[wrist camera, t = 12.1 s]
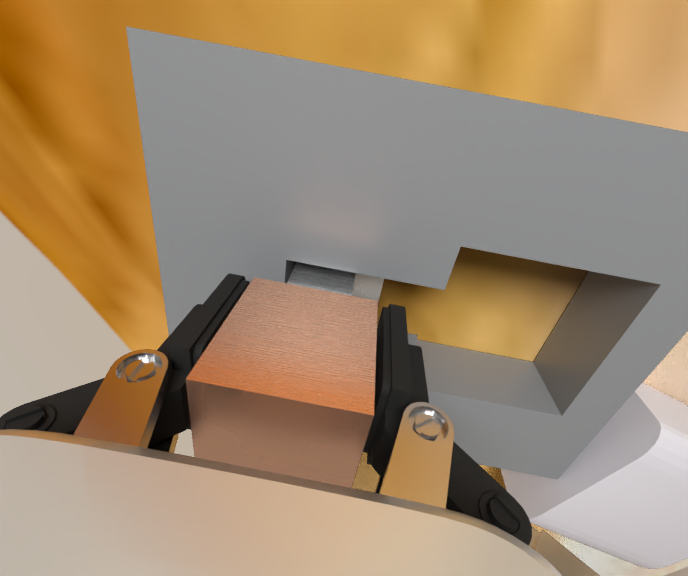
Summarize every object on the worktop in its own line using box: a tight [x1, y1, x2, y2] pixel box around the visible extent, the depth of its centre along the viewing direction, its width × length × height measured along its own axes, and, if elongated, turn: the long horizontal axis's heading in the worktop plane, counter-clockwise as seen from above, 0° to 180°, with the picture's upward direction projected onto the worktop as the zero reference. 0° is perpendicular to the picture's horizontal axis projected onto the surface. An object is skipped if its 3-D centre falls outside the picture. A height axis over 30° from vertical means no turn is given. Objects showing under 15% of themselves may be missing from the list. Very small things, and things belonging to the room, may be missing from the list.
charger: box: [500, 383, 688, 569], centre depth 20 cm, size 5×9×15 cm
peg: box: [186, 261, 384, 488], centre depth 12 cm, size 5×5×10 cm
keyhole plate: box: [126, 27, 688, 480], centre depth 15 cm, size 20×16×4 cm
